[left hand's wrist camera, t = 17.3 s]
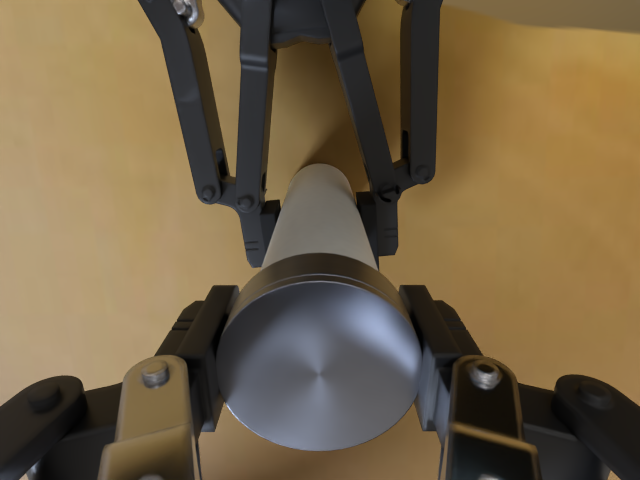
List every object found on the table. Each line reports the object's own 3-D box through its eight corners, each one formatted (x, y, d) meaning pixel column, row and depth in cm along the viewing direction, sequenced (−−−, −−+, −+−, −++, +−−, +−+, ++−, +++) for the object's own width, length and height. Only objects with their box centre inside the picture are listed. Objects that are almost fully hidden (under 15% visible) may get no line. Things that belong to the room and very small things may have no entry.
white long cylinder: (349, 160, 26) (402, 278, 9) (352, 222, 27) (402, 417, 11) (284, 165, 26) (222, 290, 9) (291, 227, 27) (248, 426, 11)
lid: (267, 222, 10) (256, 246, 8) (441, 293, 11) (463, 328, 9) (206, 371, 11) (188, 416, 10) (361, 424, 12) (367, 473, 11)
